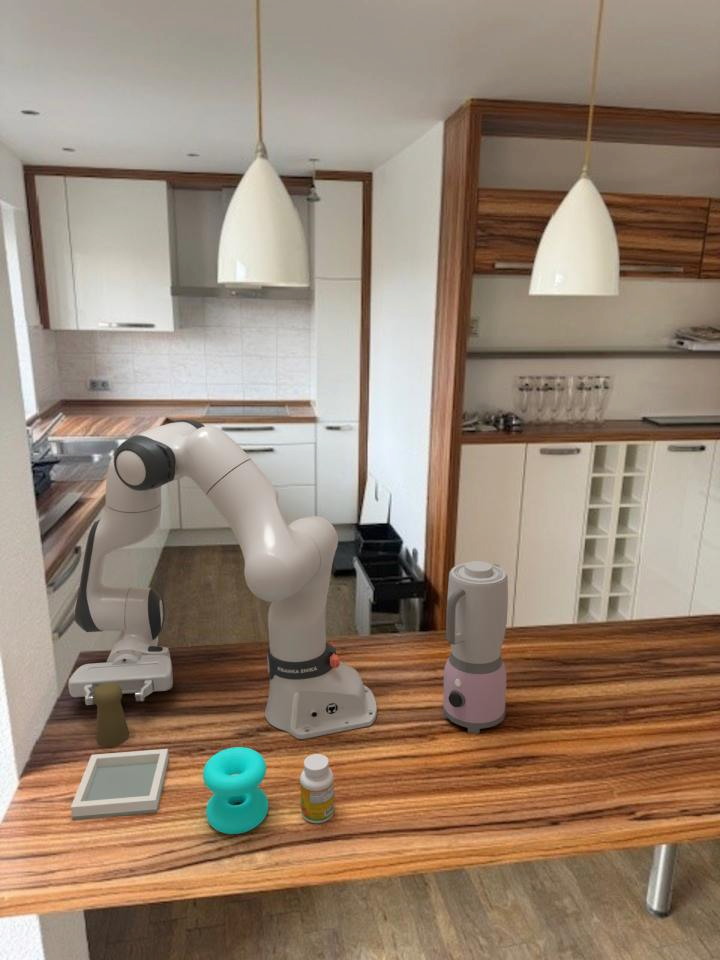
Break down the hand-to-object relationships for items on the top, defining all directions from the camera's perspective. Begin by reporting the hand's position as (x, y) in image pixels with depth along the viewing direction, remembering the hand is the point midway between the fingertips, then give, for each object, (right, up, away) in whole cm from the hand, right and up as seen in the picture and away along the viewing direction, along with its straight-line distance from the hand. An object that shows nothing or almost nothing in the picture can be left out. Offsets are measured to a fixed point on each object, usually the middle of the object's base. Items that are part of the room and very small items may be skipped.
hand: (114, 699), depth 139 cm
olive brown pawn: (0, -7, -2) cm, 7 cm away
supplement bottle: (+41, -12, -22) cm, 48 cm away
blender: (+69, -5, +2) cm, 69 cm away
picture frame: (+7, -10, -16) cm, 20 cm away
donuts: (+28, -12, -22) cm, 38 cm away
